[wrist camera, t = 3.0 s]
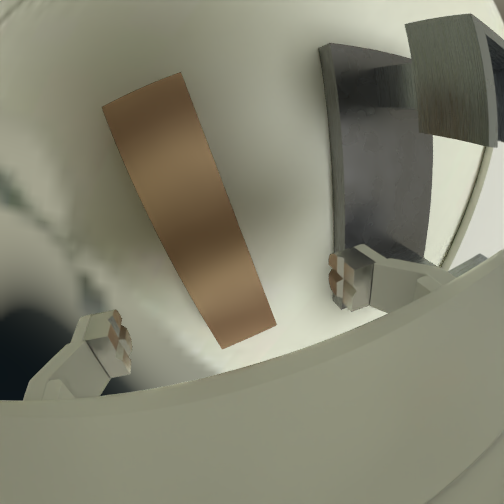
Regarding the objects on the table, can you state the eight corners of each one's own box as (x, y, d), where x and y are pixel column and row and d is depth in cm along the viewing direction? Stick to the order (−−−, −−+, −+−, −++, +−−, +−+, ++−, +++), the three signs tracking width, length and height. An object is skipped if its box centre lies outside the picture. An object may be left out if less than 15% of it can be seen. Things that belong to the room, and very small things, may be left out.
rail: (116, 112, 13) (101, 107, 10) (178, 85, 14) (180, 71, 10) (212, 314, 21) (222, 349, 18) (258, 293, 22) (276, 325, 18)
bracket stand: (318, 47, 15) (466, 7, 4) (413, 64, 16) (533, 67, 6) (332, 300, 24) (417, 395, 13) (410, 270, 26) (493, 333, 15)
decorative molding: (422, 265, 31) (460, 286, 32) (443, 280, 26) (479, 301, 28) (485, 62, 21) (517, 102, 23) (505, 58, 17) (537, 101, 18)
